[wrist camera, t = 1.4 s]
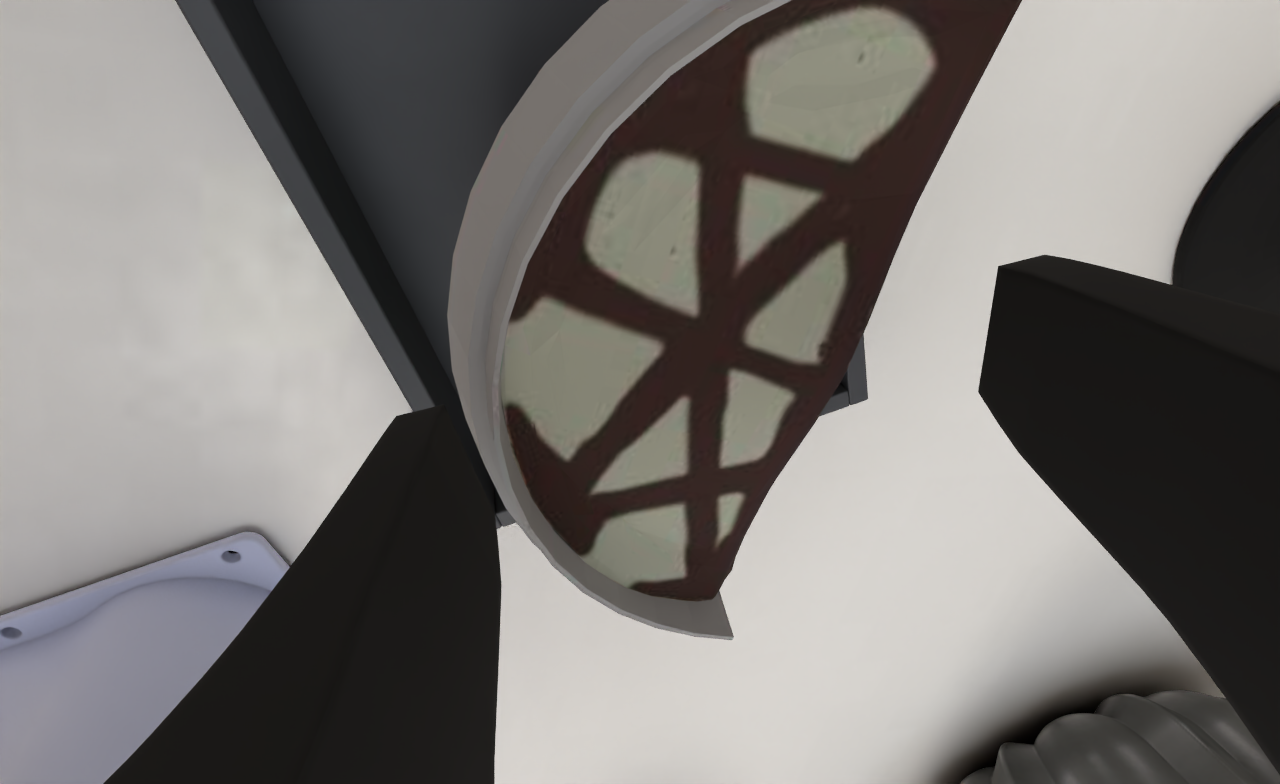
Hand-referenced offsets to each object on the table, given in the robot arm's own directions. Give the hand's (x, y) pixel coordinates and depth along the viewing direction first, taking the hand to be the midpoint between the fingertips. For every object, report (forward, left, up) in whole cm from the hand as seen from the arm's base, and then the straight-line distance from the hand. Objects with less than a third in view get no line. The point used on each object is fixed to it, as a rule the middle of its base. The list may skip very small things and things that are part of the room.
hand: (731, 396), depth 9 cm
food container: (0, 0, -11) cm, 11 cm away
